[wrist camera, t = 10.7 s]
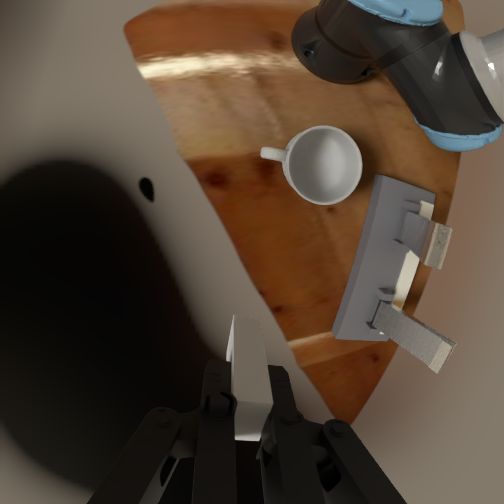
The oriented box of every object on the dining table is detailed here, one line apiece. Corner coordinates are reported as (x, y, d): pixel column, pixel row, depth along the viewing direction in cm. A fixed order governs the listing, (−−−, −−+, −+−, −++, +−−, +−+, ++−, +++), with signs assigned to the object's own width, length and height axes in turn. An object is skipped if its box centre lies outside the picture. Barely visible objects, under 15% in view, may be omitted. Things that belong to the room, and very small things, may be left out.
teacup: (351, 148, 42) (373, 146, 34) (328, 208, 45) (346, 217, 37) (273, 113, 40) (281, 102, 32) (248, 176, 43) (251, 178, 35)
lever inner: (403, 209, 42) (436, 222, 26) (415, 213, 42) (452, 228, 26) (395, 238, 43) (423, 264, 28) (408, 241, 43) (440, 269, 27)
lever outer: (376, 298, 46) (451, 346, 32) (384, 297, 47) (456, 343, 33) (367, 323, 47) (437, 373, 33) (375, 321, 48) (442, 368, 34)
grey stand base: (375, 174, 43) (391, 176, 38) (426, 192, 45) (444, 196, 39) (331, 330, 52) (340, 346, 47) (381, 333, 53) (392, 347, 48)
